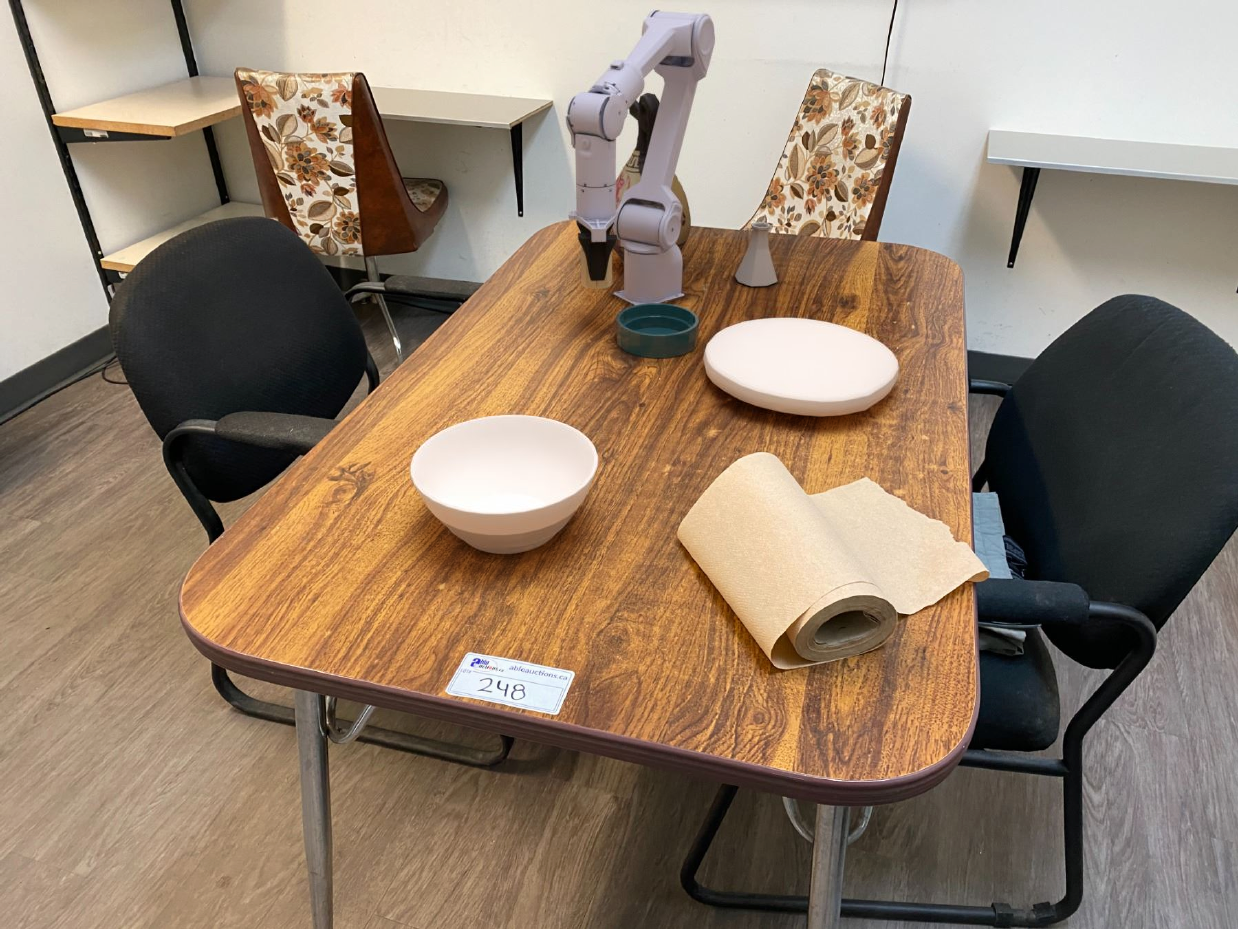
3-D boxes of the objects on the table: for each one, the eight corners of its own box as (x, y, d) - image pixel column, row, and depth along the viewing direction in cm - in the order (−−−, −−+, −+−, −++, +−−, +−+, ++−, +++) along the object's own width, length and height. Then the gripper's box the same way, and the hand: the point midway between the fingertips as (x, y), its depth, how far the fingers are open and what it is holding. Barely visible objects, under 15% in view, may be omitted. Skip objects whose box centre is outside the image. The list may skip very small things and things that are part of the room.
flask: (727, 276, 163) (731, 221, 158) (762, 270, 165) (767, 215, 160) (749, 290, 157) (754, 233, 152) (784, 284, 160) (790, 227, 155)
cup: (599, 275, 142) (599, 241, 139) (618, 284, 138) (618, 250, 135) (574, 282, 139) (574, 247, 136) (593, 291, 136) (593, 256, 133)
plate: (716, 304, 140) (895, 319, 135) (713, 344, 142) (888, 361, 138) (693, 365, 115) (911, 387, 111) (689, 412, 118) (902, 436, 113)
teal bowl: (662, 321, 146) (663, 296, 143) (713, 348, 138) (715, 322, 135) (600, 340, 140) (600, 315, 137) (650, 369, 131) (651, 342, 129)
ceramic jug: (597, 254, 172) (599, 83, 157) (676, 251, 174) (686, 83, 159) (613, 284, 157) (616, 98, 142) (699, 280, 160) (712, 98, 145)
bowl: (509, 457, 111) (505, 397, 106) (635, 517, 100) (636, 453, 96) (380, 531, 98) (370, 466, 94) (509, 608, 88) (503, 539, 83)
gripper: (566, 169, 136) (568, 257, 144) (569, 197, 124) (571, 291, 132) (613, 168, 137) (613, 256, 144) (620, 196, 125) (620, 290, 132)
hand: (596, 273), depth 138 cm, fingers closed on cup, 5 cm apart
